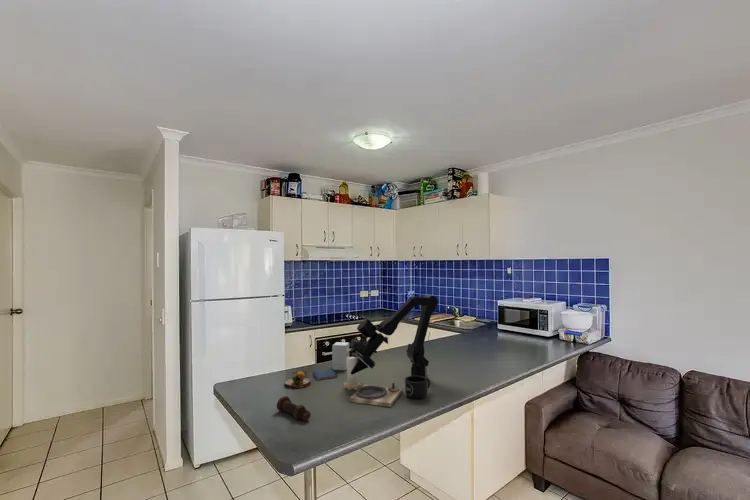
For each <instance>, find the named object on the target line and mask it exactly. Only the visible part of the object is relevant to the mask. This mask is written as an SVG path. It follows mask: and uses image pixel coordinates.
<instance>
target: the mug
mask: <svg viewBox="0 0 750 500" xmlns="http://www.w3.org/2000/svg"><path fill="white" fill-rule="evenodd" d="M430 385H431V383H430V378H428V377H426V378H425V377H423V376H416V375H414V376H411V375H408V376H406V377H405V379H404V390H405V391H404V392H405V394H406V395H405V396H407V397H409V398H410V399H415V400H417V399H423V398H425V397H426V396H427V395H428V389H429V388H430Z"/></svg>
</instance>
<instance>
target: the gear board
mask: <svg viewBox="0 0 750 500" xmlns="http://www.w3.org/2000/svg"><path fill="white" fill-rule="evenodd" d="M391 383H392V384H391V386H382V385H374V384H363V385H361V387H360V388H358V389H357V390H355V392H354V393H353V394H352V395H351V396H350V397H349V402H351V403H358V404H365V405H372V406H378V405H379V406H380V407H387V408H391V407H392V406H393V405H394V403H395V402H397V401H396V400H398V398H399V397H400V396H401V394H403V389H402V388H399V387H398V386H395V385H396V384H395V382H391ZM379 406H378V407H379Z"/></svg>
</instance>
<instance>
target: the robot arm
mask: <svg viewBox="0 0 750 500" xmlns="http://www.w3.org/2000/svg"><path fill="white" fill-rule="evenodd" d="M438 304H439V299H438V297H437V296H435V295H432V294H431V295H430V294H425V295H422V296H421V295H420V296H419V295H418V296H415V295H411V296H409V297H408V298H407V300H406V301H404V303H403V304H402V305H401V306H400V307H399V308H397V310H396V311H395V312H394V313H393V314H391V316H388V317H387V318H384V319H383V320H382V321H381V322H380V323H377V324H374V323H372V321H371V320H370V319H369V318H366V319H365V320H363V321H361V322H360V323H359V324H358V325H357V327H356V330H357V331H358V332H359V333H360V334H361V335H362V336H363V337H364V338H365V339H367V338H368V340H367V341H365V340H364V341H361V340H356V339H353V338H352V339H351V341H350V342H349V347H351V348H350V351H351V357H357V363H356V365H355V366H354V368H353V369H352V371H351V374H352V375H353V374H355V373H357V372H358V373H359V372H361V371H363V370H365V369H369V368H370V369H373V368H374V367H375V366H376V363H375V361H374V360H373V359H372V358H371V357H372V356H373V355H374V354H377V353H378V351H377V350H378V349H379V348H380V346H381V345H382V344H383V343H385V344H389V340H388V339H389V336H392V335H393V334H394V333H395V331H396V330H397V329H398V327H399V324H400V323H401V321H402V320H403V319H404V318H405V317H406V316H408V315H409V313H411V311H412V310H413V309H414V308H415V307H416V306H420V310H421V313H420V317H419V321H418V325H417V328H416V332H415V335H414V340H413V341H412V343H408V345H407V349H406V355H407V358H408V359H409V360H410V362H411V365H412V366H411V367H410V376H414V375H416V376H423V377H425V378H428V374H427V373H428V372H427V371H428V370H427V367H428V366H429V363H430V361H429V360H428V359H427V358H426V357H425V346H424V345H425V339H426V336H427V332H428V328H429V325H430V321H431V318H432V315H433V314H434V313H435V311H436V309H437V307H438ZM384 335H385V336H384Z"/></svg>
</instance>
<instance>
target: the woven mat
mask: <svg viewBox="0 0 750 500" xmlns="http://www.w3.org/2000/svg"><path fill="white" fill-rule="evenodd" d="M312 377H314V379H315V380H316V381H323V380H329V379H337V377H338V373H336V370H333V369H331V368H330V369H322V370H316V371H315V370H314V371H312Z"/></svg>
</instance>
